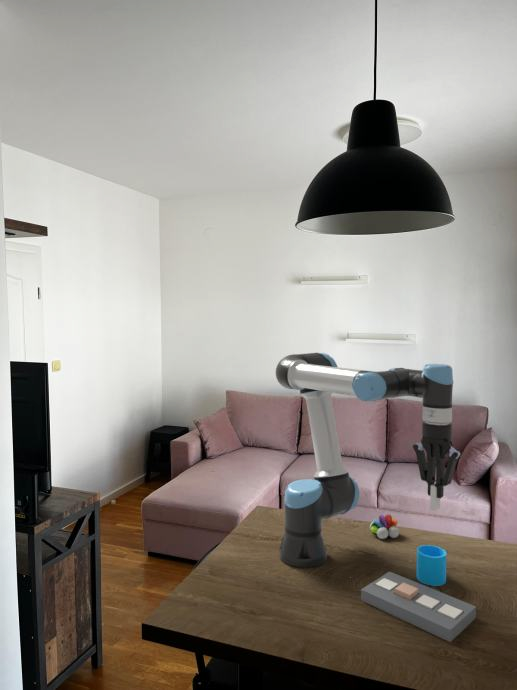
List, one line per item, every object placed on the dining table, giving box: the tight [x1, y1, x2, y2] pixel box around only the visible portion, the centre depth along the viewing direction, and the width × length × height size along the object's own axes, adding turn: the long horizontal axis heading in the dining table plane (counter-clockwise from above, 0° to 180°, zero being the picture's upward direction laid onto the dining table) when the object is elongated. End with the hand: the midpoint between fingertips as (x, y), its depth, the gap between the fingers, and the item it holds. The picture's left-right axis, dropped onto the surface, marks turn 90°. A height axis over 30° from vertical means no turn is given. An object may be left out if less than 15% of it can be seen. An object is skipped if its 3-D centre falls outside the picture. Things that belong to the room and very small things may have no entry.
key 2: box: [395, 583, 418, 600], centre depth 138 cm, size 4×4×3 cm
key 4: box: [437, 604, 463, 620], centre depth 129 cm, size 4×4×3 cm
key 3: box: [415, 595, 440, 610], centre depth 134 cm, size 4×4×3 cm
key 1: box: [375, 578, 398, 592], centre depth 142 cm, size 4×4×3 cm
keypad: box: [360, 571, 477, 643], centre depth 136 cm, size 25×14×3 cm, turn 44°
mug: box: [416, 544, 447, 587], centre depth 153 cm, size 12×8×8 cm
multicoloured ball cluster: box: [369, 513, 400, 540], centre depth 181 cm, size 8×10×7 cm
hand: (435, 508), depth 141 cm, fingers closed
